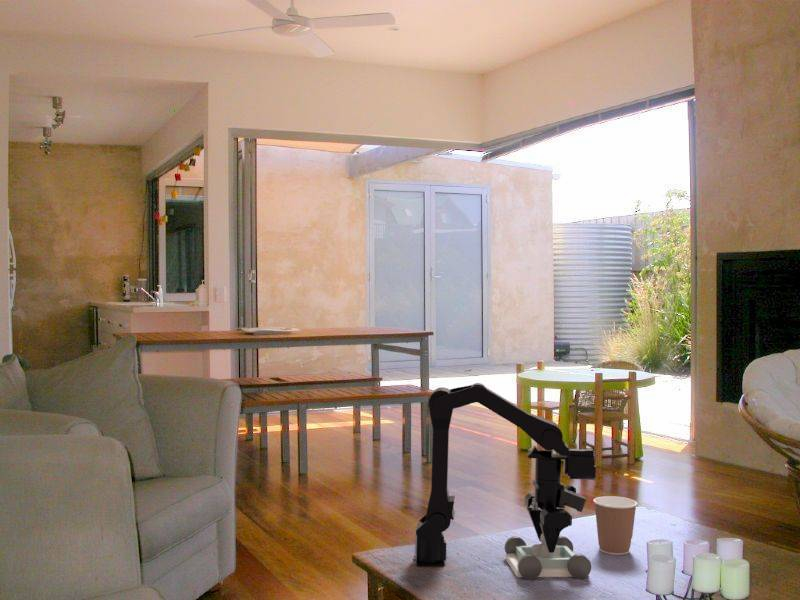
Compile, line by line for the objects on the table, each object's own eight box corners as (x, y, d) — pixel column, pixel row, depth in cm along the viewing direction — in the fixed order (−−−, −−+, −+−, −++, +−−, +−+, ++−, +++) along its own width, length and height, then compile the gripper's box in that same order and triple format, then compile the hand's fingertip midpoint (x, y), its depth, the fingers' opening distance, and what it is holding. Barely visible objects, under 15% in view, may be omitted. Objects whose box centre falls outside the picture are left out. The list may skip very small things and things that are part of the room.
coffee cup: (645, 554, 203) (646, 504, 203) (609, 559, 200) (610, 508, 199) (619, 542, 213) (620, 494, 213) (584, 546, 209) (585, 497, 209)
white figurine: (564, 563, 191) (564, 527, 191) (537, 566, 189) (536, 529, 189) (554, 556, 196) (553, 521, 196) (527, 558, 194) (527, 523, 194)
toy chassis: (518, 579, 184) (519, 556, 184) (504, 557, 199) (504, 536, 199) (591, 578, 186) (591, 555, 186) (571, 556, 201) (571, 535, 201)
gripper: (596, 487, 184) (594, 559, 184) (570, 469, 202) (569, 534, 203) (545, 487, 183) (543, 560, 183) (524, 469, 201) (523, 534, 202)
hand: (546, 546), depth 193 cm, fingers open, 8 cm apart
